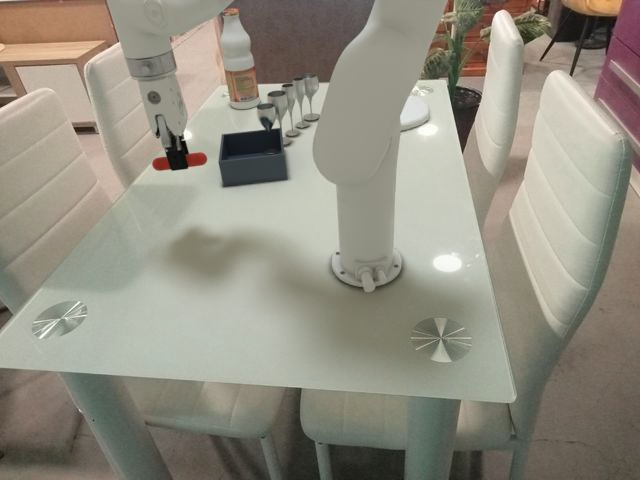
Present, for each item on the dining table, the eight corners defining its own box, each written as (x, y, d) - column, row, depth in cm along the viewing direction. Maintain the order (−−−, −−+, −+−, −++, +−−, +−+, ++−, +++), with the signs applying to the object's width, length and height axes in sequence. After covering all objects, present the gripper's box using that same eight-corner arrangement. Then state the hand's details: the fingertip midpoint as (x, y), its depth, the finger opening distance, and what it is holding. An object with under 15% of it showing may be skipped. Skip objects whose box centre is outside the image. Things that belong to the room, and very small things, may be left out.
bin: (287, 179, 114) (284, 154, 110) (223, 186, 113) (218, 162, 109) (284, 150, 126) (281, 127, 122) (226, 157, 125) (221, 134, 121)
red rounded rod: (208, 161, 90) (206, 149, 88) (208, 166, 88) (205, 155, 86) (155, 167, 89) (151, 156, 88) (153, 173, 87) (149, 162, 86)
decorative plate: (338, 120, 129) (344, 87, 148) (339, 134, 131) (345, 100, 151) (433, 118, 126) (426, 85, 145) (432, 133, 128) (425, 98, 148)
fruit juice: (225, 107, 153) (206, 12, 136) (243, 97, 159) (228, 5, 143) (248, 111, 149) (231, 14, 132) (266, 101, 155) (252, 7, 138)
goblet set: (276, 155, 122) (269, 105, 114) (257, 152, 125) (249, 103, 117) (324, 114, 142) (321, 69, 134) (307, 112, 144) (303, 67, 136)
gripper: (168, 76, 71) (197, 184, 82) (181, 48, 84) (204, 144, 95) (117, 82, 71) (153, 189, 82) (138, 53, 84) (166, 149, 95)
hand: (180, 164), depth 88 cm, fingers closed on red rounded rod, 2 cm apart
